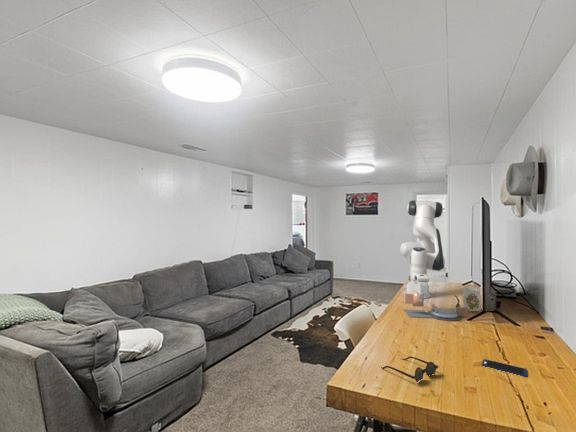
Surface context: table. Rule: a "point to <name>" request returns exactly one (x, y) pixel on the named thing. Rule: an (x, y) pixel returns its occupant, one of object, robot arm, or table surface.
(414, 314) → the mat
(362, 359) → the table surface
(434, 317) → the base plate
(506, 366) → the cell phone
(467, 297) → the pitcher
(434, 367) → the eyeglasses
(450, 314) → the turntable
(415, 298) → the jug
